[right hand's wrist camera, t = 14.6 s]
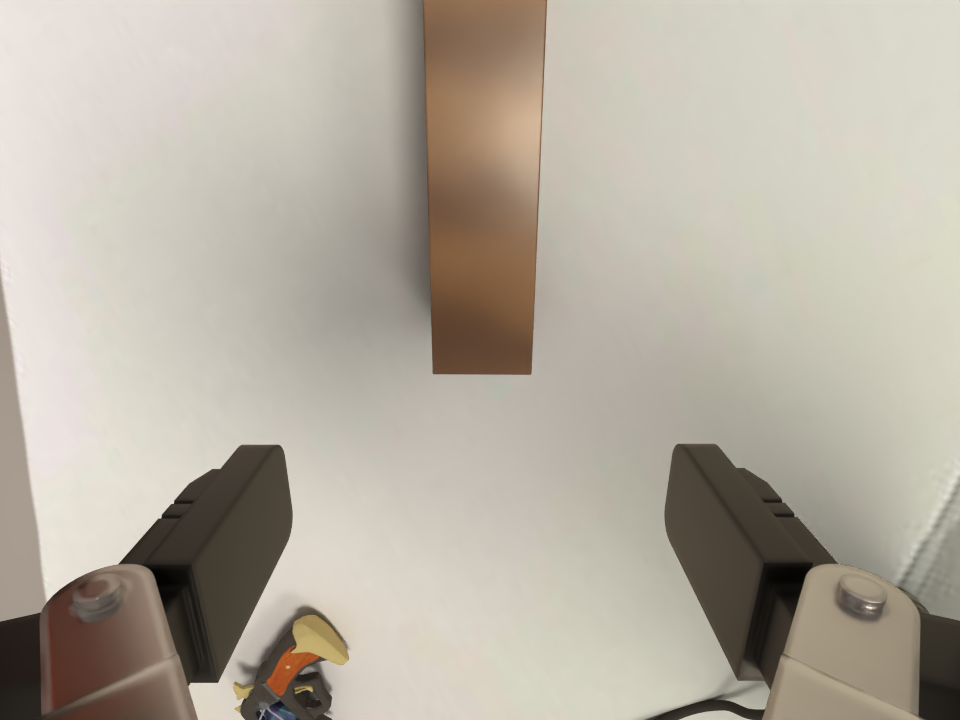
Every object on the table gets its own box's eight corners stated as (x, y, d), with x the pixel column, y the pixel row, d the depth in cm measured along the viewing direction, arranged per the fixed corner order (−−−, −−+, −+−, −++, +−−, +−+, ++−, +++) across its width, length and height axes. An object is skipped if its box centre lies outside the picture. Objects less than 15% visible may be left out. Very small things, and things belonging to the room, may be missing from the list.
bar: (520, 326, 34) (531, 374, 27) (442, 326, 34) (432, 374, 27) (537, -209, 25) (561, -357, 18) (432, -210, 25) (413, -359, 18)
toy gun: (311, 628, 39) (187, 685, 40) (429, 772, 47) (323, 818, 47) (317, 599, 42) (199, 652, 42) (427, 740, 49) (326, 784, 50)
